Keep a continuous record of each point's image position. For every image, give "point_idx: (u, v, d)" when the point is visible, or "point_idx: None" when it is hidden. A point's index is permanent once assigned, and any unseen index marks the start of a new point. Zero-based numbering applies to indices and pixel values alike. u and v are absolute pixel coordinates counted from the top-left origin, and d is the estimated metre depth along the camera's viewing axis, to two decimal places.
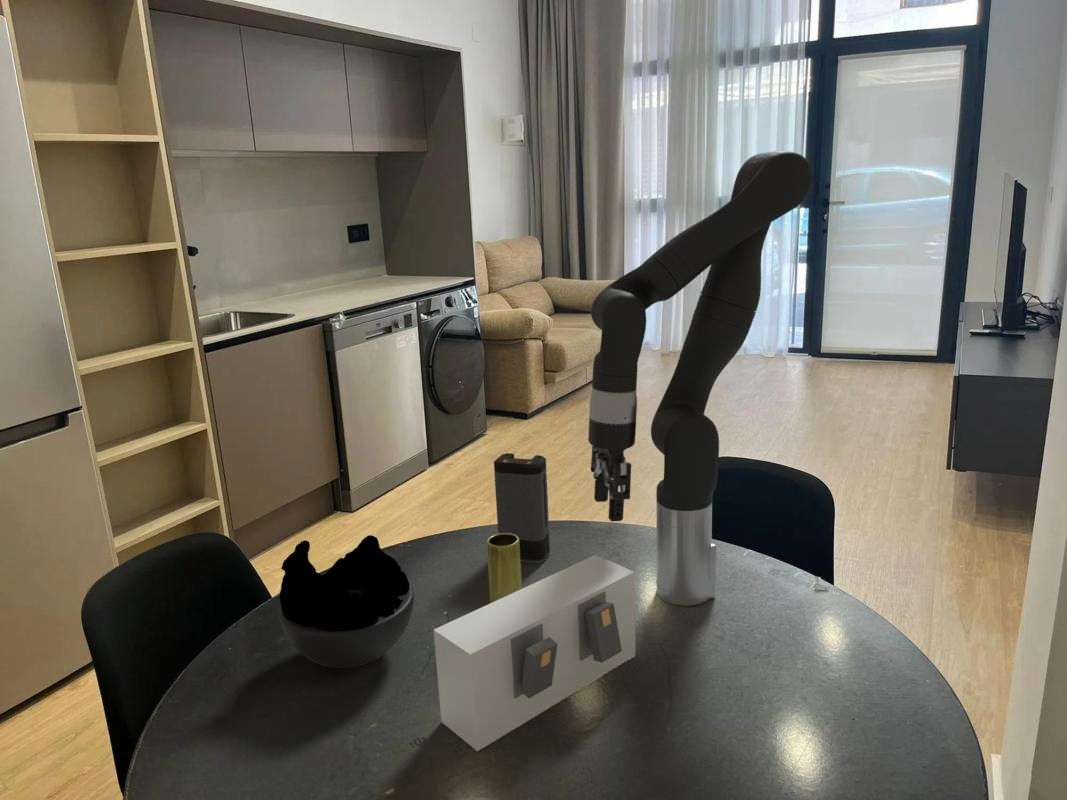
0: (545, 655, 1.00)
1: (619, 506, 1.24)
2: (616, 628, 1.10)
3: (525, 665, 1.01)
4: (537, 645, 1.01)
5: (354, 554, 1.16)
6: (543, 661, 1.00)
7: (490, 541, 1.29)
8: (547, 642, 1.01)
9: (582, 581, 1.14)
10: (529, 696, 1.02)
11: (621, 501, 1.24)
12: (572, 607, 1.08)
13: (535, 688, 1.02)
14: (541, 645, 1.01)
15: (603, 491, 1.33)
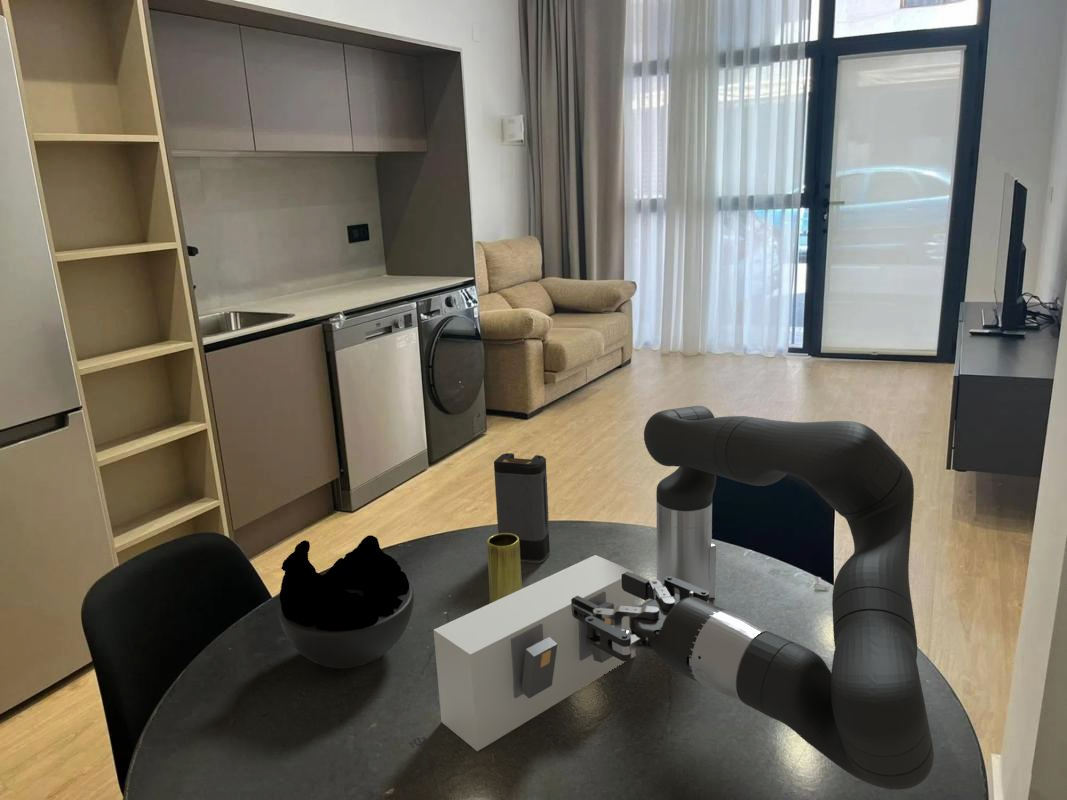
0: (545, 655, 1.00)
1: None
2: None
3: (525, 665, 1.01)
4: (537, 645, 1.01)
5: (354, 554, 1.16)
6: (543, 661, 1.00)
7: (490, 541, 1.29)
8: (547, 642, 1.01)
9: (582, 581, 1.14)
10: (529, 696, 1.02)
11: None
12: None
13: (535, 688, 1.02)
14: (541, 645, 1.01)
15: None
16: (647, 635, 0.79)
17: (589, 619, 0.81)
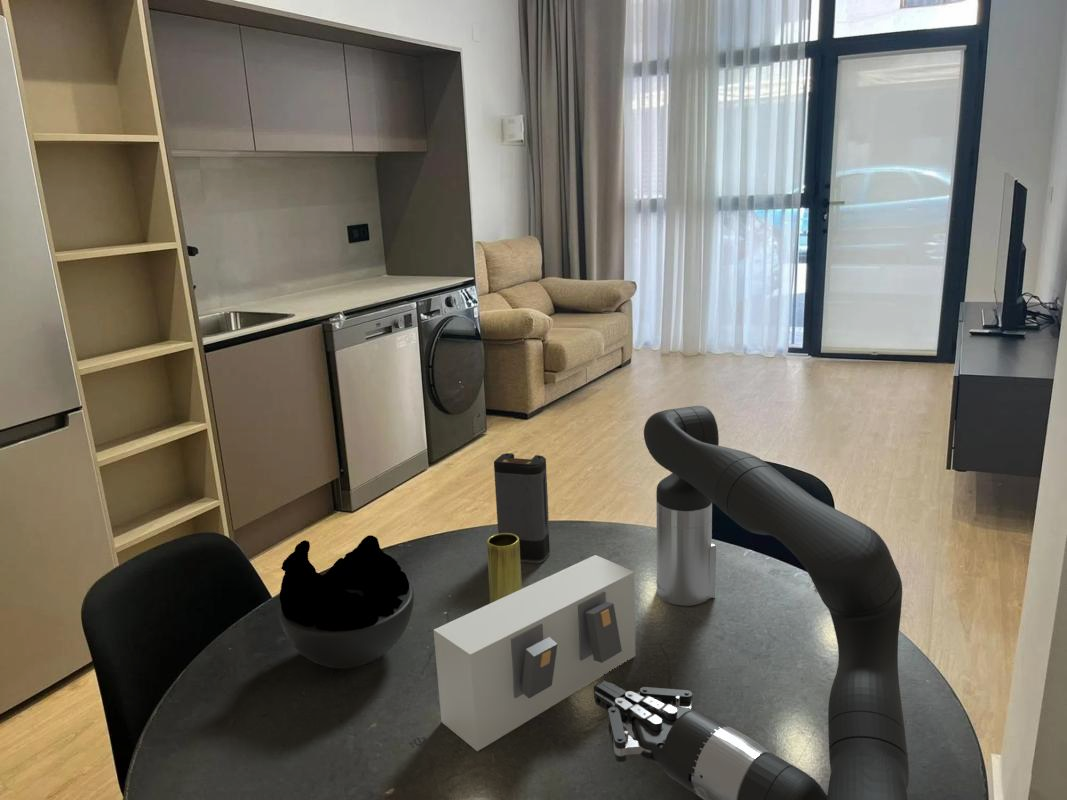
0: (545, 655, 1.00)
1: None
2: (616, 628, 1.10)
3: (525, 665, 1.01)
4: (537, 645, 1.01)
5: (354, 554, 1.16)
6: (543, 661, 1.00)
7: (490, 541, 1.29)
8: (547, 642, 1.01)
9: (582, 581, 1.14)
10: (529, 696, 1.02)
11: None
12: (572, 607, 1.08)
13: (535, 688, 1.02)
14: (541, 645, 1.01)
15: None
16: (643, 747, 0.83)
17: (611, 709, 0.88)
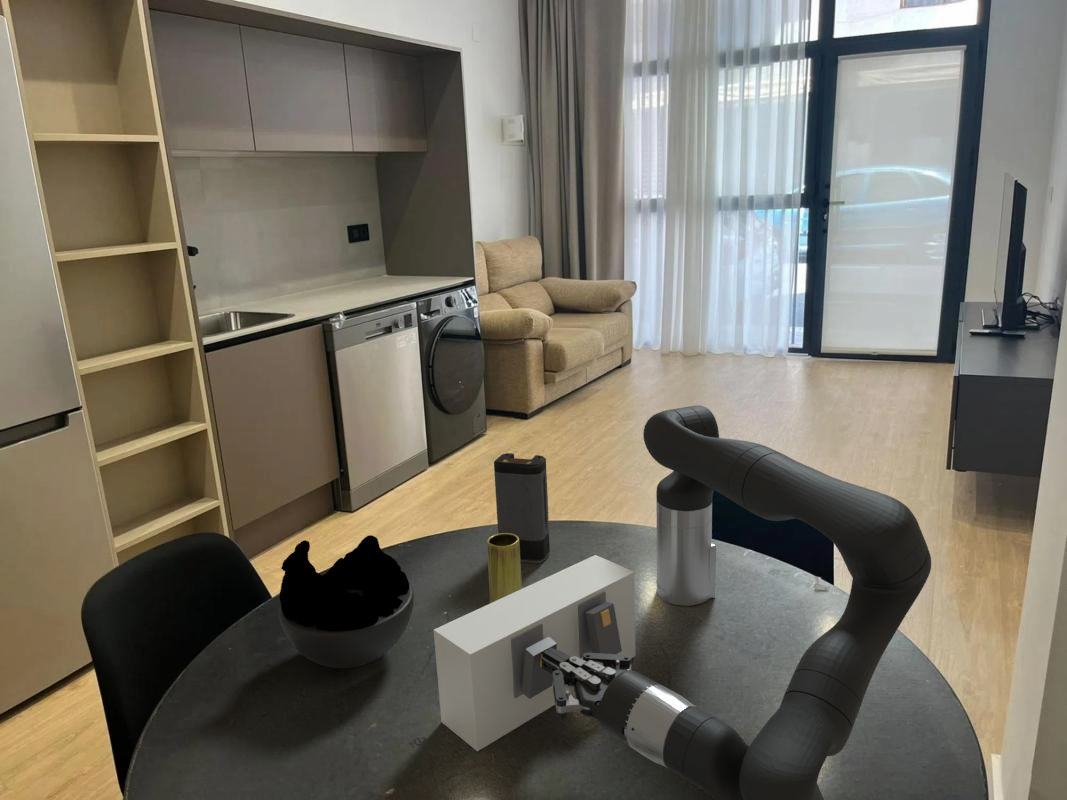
0: None
1: None
2: (616, 628, 1.10)
3: (525, 665, 1.01)
4: (537, 645, 1.01)
5: (354, 554, 1.16)
6: None
7: (490, 541, 1.29)
8: (547, 642, 1.01)
9: (582, 581, 1.14)
10: (529, 696, 1.02)
11: None
12: (572, 607, 1.08)
13: (535, 688, 1.02)
14: (541, 645, 1.01)
15: None
16: (583, 704, 0.90)
17: (555, 672, 0.95)
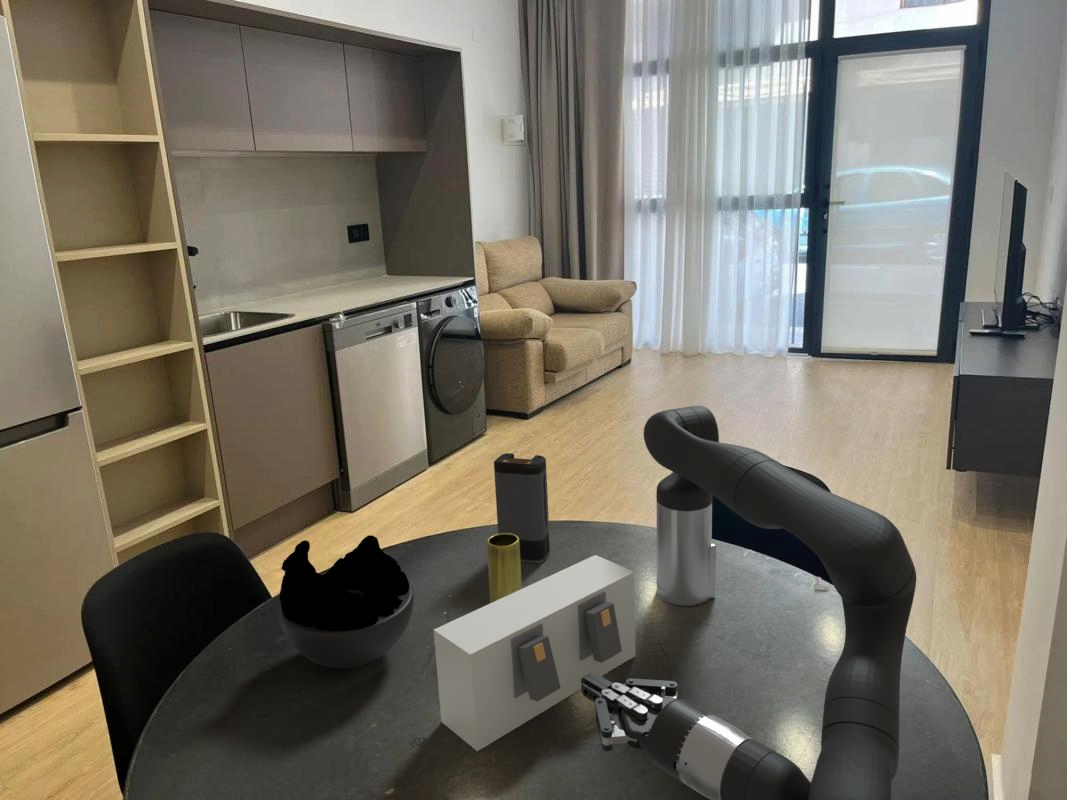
0: (537, 647, 1.01)
1: None
2: (616, 628, 1.10)
3: (523, 665, 1.01)
4: (528, 642, 1.02)
5: (354, 554, 1.16)
6: (538, 655, 1.01)
7: (490, 541, 1.29)
8: (538, 638, 1.03)
9: (582, 581, 1.14)
10: (537, 698, 1.00)
11: None
12: (572, 607, 1.08)
13: (541, 689, 1.01)
14: (532, 641, 1.02)
15: None
16: (630, 736, 0.84)
17: (598, 700, 0.90)
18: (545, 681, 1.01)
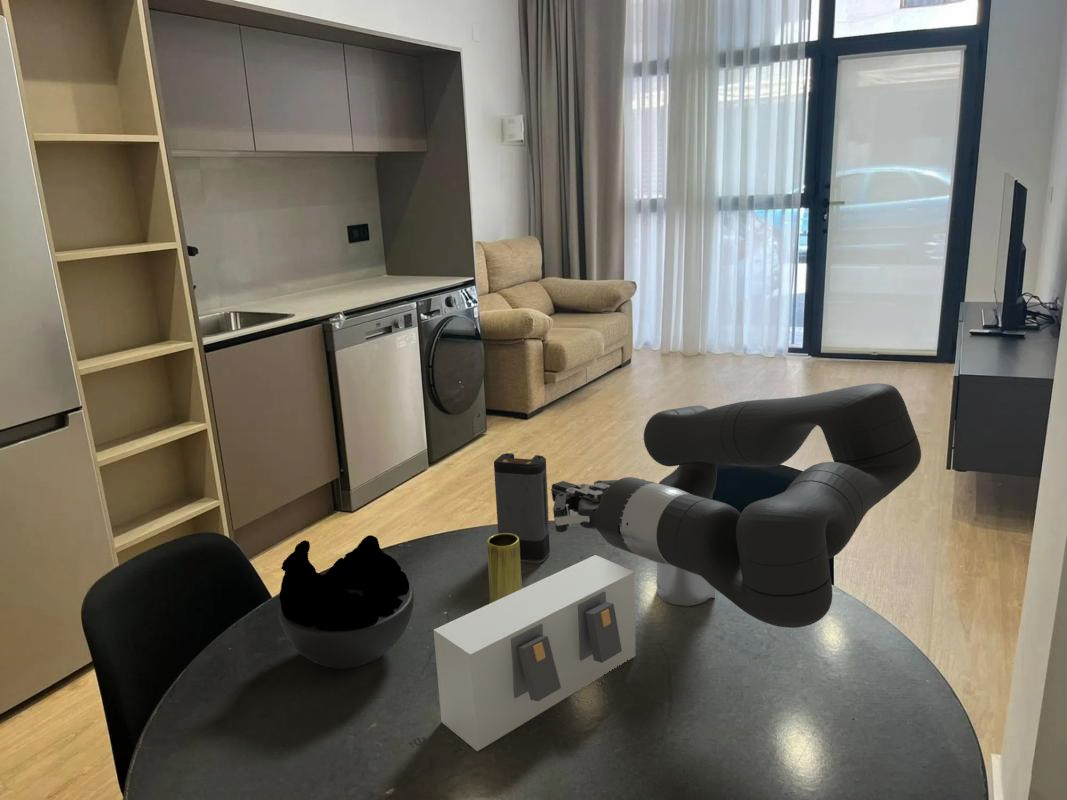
0: (537, 647, 1.01)
1: None
2: (616, 628, 1.10)
3: (522, 665, 1.01)
4: (528, 642, 1.02)
5: (354, 554, 1.16)
6: (537, 654, 1.01)
7: (490, 541, 1.29)
8: (538, 638, 1.03)
9: (582, 581, 1.14)
10: (537, 698, 1.00)
11: None
12: (572, 607, 1.08)
13: (541, 689, 1.01)
14: (532, 641, 1.02)
15: None
16: (581, 513, 0.82)
17: (559, 494, 0.88)
18: (545, 681, 1.01)
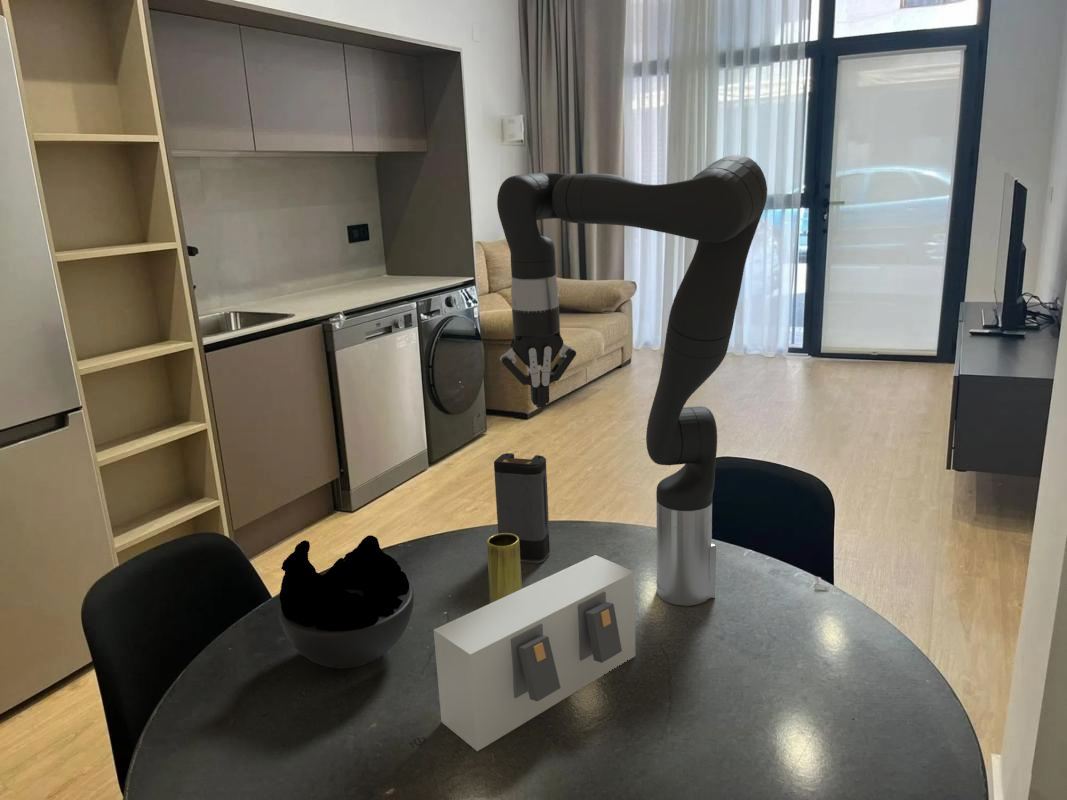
0: (537, 647, 1.01)
1: None
2: (616, 628, 1.10)
3: (523, 665, 1.01)
4: (528, 642, 1.02)
5: (354, 554, 1.16)
6: (538, 655, 1.01)
7: (490, 541, 1.29)
8: (538, 638, 1.03)
9: (582, 581, 1.14)
10: (537, 698, 1.00)
11: None
12: (572, 607, 1.08)
13: (541, 689, 1.01)
14: (532, 641, 1.02)
15: None
16: None
17: None
18: (545, 681, 1.01)
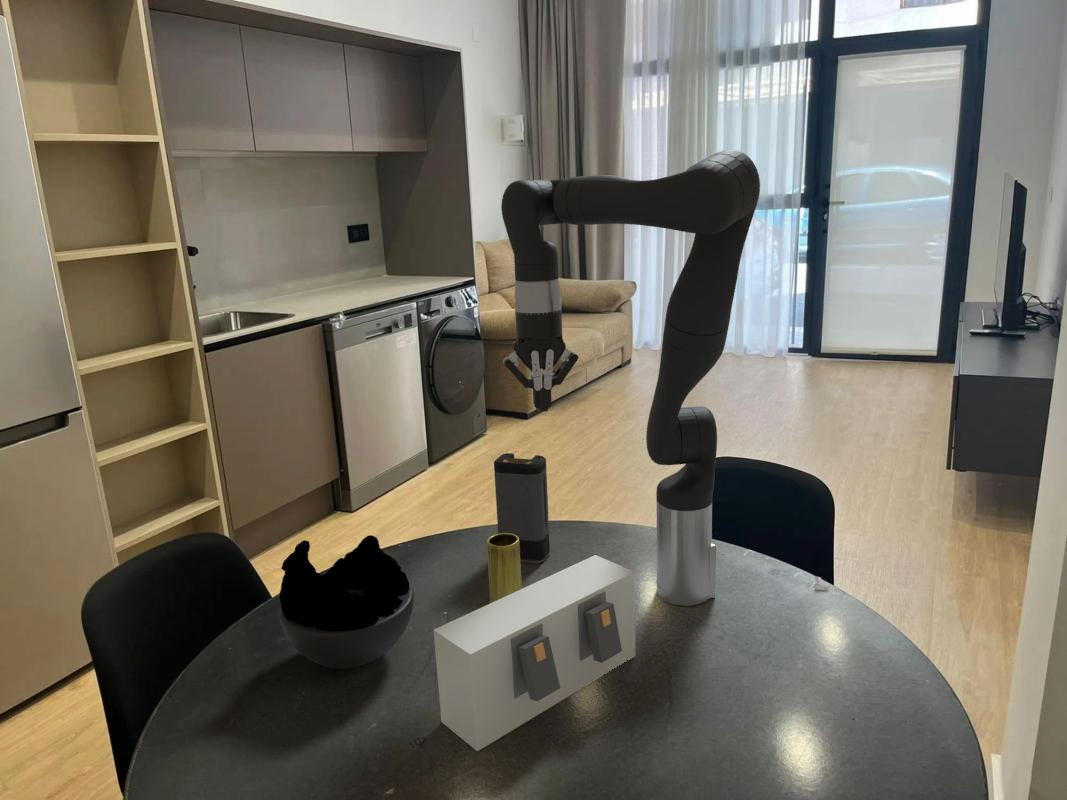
0: (537, 647, 1.01)
1: None
2: (616, 628, 1.10)
3: (523, 665, 1.01)
4: (528, 642, 1.02)
5: (354, 554, 1.16)
6: (538, 655, 1.01)
7: (490, 541, 1.29)
8: (539, 638, 1.03)
9: (582, 581, 1.14)
10: (537, 698, 1.00)
11: None
12: (572, 607, 1.08)
13: (541, 689, 1.01)
14: (532, 641, 1.02)
15: None
16: None
17: None
18: (545, 681, 1.01)
